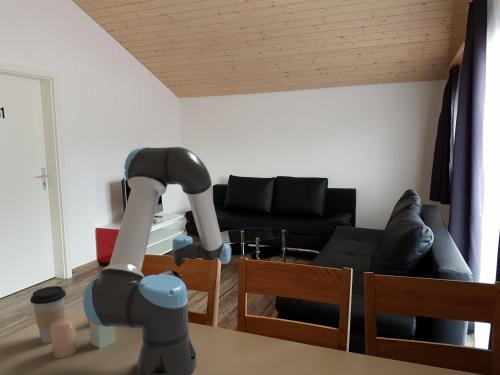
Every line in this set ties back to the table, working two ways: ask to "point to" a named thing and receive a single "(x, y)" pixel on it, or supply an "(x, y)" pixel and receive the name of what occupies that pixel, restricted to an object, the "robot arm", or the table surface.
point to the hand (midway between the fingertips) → (95, 303)
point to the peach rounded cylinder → (63, 337)
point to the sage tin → (102, 335)
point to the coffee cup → (48, 309)
